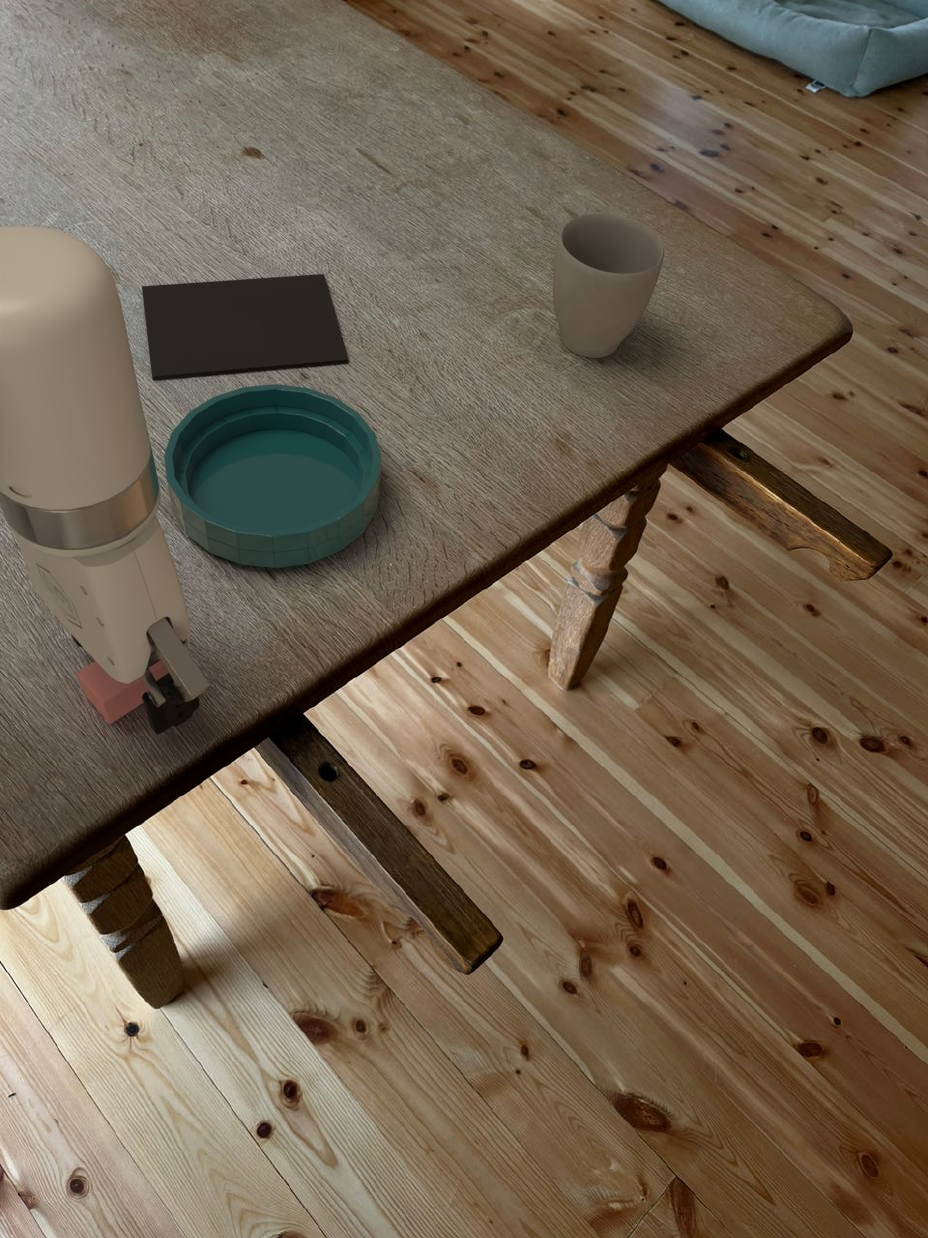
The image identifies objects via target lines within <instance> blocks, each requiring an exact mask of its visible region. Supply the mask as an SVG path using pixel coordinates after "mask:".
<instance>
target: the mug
mask: <svg viewBox="0 0 928 1238" xmlns="http://www.w3.org/2000/svg"><path fill="white" fill-rule="evenodd" d="M664 258H665V248H664V245H663V243H662V241H661V239H660V237H659V236H658V234H657V233H655V232H654V231H653V230H652V229H651V228H649V227H648V226H647V225H645V224H643V223H642V222H639V221H637V220H634V219H632V218H631V217H628V216H623V215H619V214H615V213H603V212H601V213H600V212H599V213H598V212H597V213H588V214H587V213H586V214H584V215H580V216H577V217H575V218H573V219H571V220H570V221H568V222H567V223H566V224H565V225H564V226H563V227H562V229H561V230H560V233H559V235H558V240H557V244H556V250H555V257H554V263H553V273H552V301H553V309H554V314H555V319H556V322H557V325H558V329H559V338H560V340H561V343H562V344H563V346H564V347H565V348H566V349H567V350H568V351H570V352H572V353H574V354H576V355H578V356H581V357H584V358H590V359H601V358H605V357H608V356H610V355H612V354H613V353H615V352H616V351H617V349H618V347H619V346H620V345H621V343H622V342H623V341H624V340H625V339H626V338H627V336H628V335H629V334H630V333H631V332H632V331H633V329H634V328H635V327H636V325H638V322H639V321H640V319H642V316H643V314H644V312H645V311H646V309H647V307H648V305H649V303H650V300H651V298H652V296H653V293H654V291H655V288H656V286H657V282H658V280H659V277H660V274H661V270H662V267H663V264H664Z"/></svg>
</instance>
